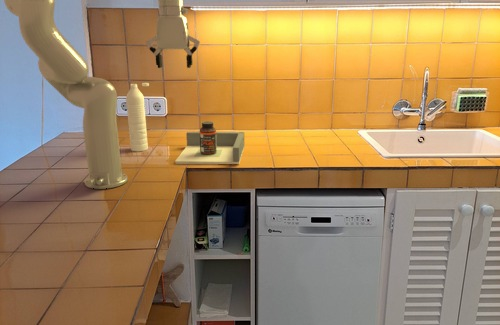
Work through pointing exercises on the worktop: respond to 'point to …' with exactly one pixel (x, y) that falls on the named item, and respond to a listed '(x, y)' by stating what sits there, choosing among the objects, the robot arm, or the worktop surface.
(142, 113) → the water bottle
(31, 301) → the worktop surface
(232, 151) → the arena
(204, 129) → the supplement bottle
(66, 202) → the worktop surface
